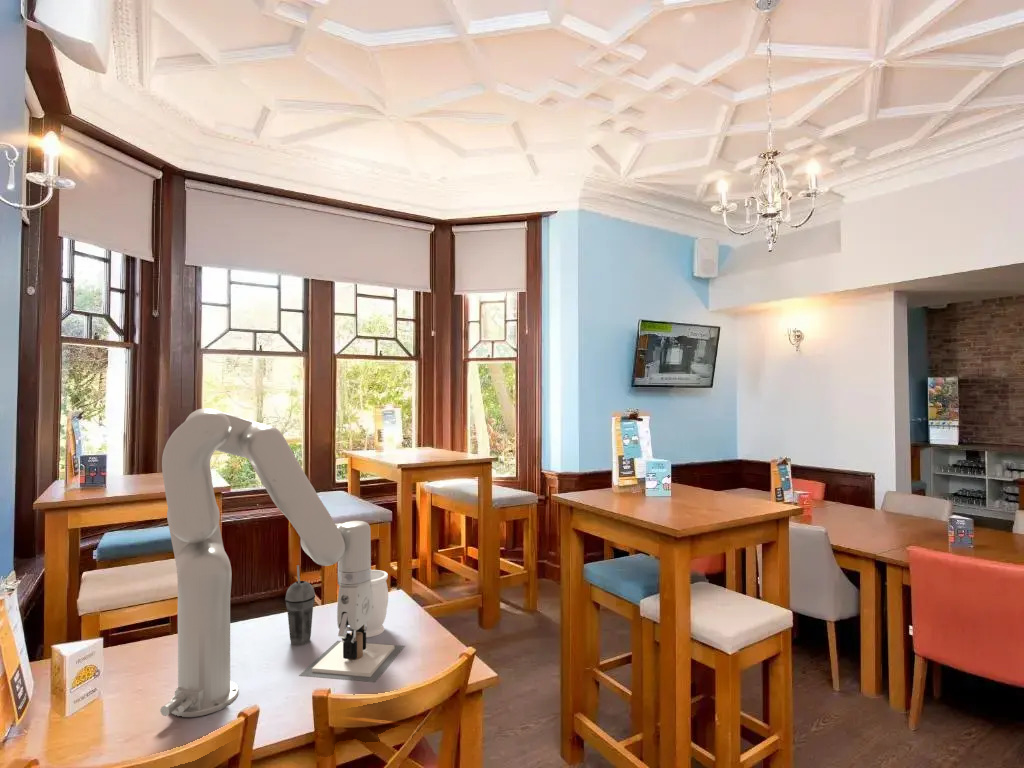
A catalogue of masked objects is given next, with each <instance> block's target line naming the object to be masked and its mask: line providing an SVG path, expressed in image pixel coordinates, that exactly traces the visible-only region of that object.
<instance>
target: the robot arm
mask: <svg viewBox="0 0 1024 768" xmlns="http://www.w3.org/2000/svg"><path fill="white" fill-rule="evenodd" d="M216 451H218V452H221V453H223V454H224V453H225V454H229V455H232V456H236V457H241V458H245V459H247V460H248V461H249V463H250V464H251V467H252V469H253V470H254V472H255V473H256V475H257V477H258V479H259V480H260V482H261V484H262V485H263V487H264V488H265V490H266V492H267V493H268V495H269V497H270V499H271V500H272V502H273V503H274V505H275V506H276V508H278V510H279V511H280V512H281V513H282V514H283V516H285V518H286V519H287V520H288V521H289V522H290V524H291V525H292V527H293V528H294V530H295V531H296V533H297V534H298V536H299V537H300V546H301V547H300V548H301V549H302V550H303V551H304V553H305V554H306V555H307V556H308V557H310V559H312V561H313V562H314V563H315V564H316V565H319V566H322V567H327V566H332V565H335V564H337V585H338V594H337V609H336V613H337V614H336V618H337V619H336V621H337V628H338V629H339V630H338V632H337V633H338V635H337V636H338V637H339V638H341V641H342V642H343V658H344V659H356V658H357V641H355V638H356V632H361V633H363V650H365V649H366V643H367V637H366V630H367V624H366V623H367V621H368V620H369V619H370V618H371V617H372V616H373V593H372V584H371V570H372V567H371V566H372V564H371V563H372V560H371V559H372V558H371V557H372V556H371V555H372V552H371V551H372V546H371V545H372V543H371V542H372V541H371V539H372V538H371V533H372V532H371V526H370V524H369V523H368V522H366V521H362V520H352V521H351V520H350V521H345V522H343V523H335V520H334V519H333V517H332V516H331V514H330V513H329V511H328V509H327V507H326V506H325V505H324V503H323V501H322V500H321V498H320V497H319V495H318V493H317V492H316V491H317V490H315V488H314V486H313V485H312V484H311V482H310V480H309V478H308V476H307V475H306V473H305V472H304V470H303V468H302V467H301V464H300V463H299V461H298V459H297V458H296V456H295V454H294V452H293V450H292V449H291V447H290V445H289V443H288V441H287V439H286V438H285V437H284V435H283V434H282V432H281V431H280V430H279V429H278V428H277V427H274V426H273V425H270V424H265V423H260V422H258V421H257V422H256V421H253V420H249V419H245V418H242V417H238V416H236V415H232V414H229V413H226V412H224V411H220V410H218V409H214V408H209V407H207V408H205V407H204V408H199V409H196V410H194V411H193V412H192V411H191V413H190V414H189V415H188V416H187V417H186V419H185V421H184V422H182V423H181V424H180V425H179V426H178V427H177V428H176V429H175V430H174V431H173V432H172V434H171V435H170V436H169V438H168V439H167V441H166V443H165V447H164V448H163V451H162V457H161V469H162V471H161V472H162V479H163V485H164V494H165V499H166V500H165V501H166V504H167V512H166V518H167V519H166V520H167V523H168V524H167V525H168V529H169V535H170V540H171V545H172V550H173V554H174V561H175V566H176V575H177V577H176V578H177V579H176V580H177V688H176V689H174V695H173V696H172V698H171V699H170V700H169V702H167V703H166V704H164V705H163V706H161V708H160V714H161V715H162V716H164V717H168V716H169V715H170V714H171V715H173V716H176V715H177V716H176V717H179V716H182V717H181V718H195V717H203V716H207V715H210V714H213V713H215V712H218V711H221V710H222V709H224V708H226V707H228V706H230V705H231V703H233V701H234V700H236V698H237V697H238V696H239V690H240V689H239V686H238V684H237V683H235V682H234V681H231V589H232V566H231V560H230V558H229V556H228V554H227V552H226V551H225V547H224V541H223V538H222V537H223V536H222V533H221V526H220V519H221V518H220V516H221V515H220V514H221V513H220V508H219V506H218V503H217V501H216V496H215V490H214V486H213V485H214V484H213V477H212V471H211V460H212V456H213V454H214V453H215V452H216ZM351 631H352V635H351V634H350V633H351Z"/></svg>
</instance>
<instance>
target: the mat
mask: <svg viewBox="0 0 1024 768" xmlns="http://www.w3.org/2000/svg"><path fill="white" fill-rule="evenodd" d="M341 641H342V640H337V641H335V642H334V643H333V644H332V645H331V646H329V648H328V649H327V650H325V652H323V653H322V654H321V655H320V656H319V657H318V658H316V660H314V661H313V662H312V663H311V664H310V665H309V666H308V667H306V668H305V669H304V670H303V672H301V673H300V674H299V675H298V677H311V678H321V679H322V678H323V679H330V680H331V679H332V680H343V681H355V682H367V683H377V681H378V680H379V678H380V677H381V676H382V675H383V674H384V673H385V671H386V670H387V669H388V667H389V666H390V665H391V664H392V662H393V661H394V660H395V659H396V658H397V656H398V655H399V654H400V653H401V651H403V650H404V649H405V647H406V645H403V644H402V645H400V644H393V645H394V647H395V649H394V650H393V651H392V652H391V653H390V655H389V656H388V657H387V658H386V659H385V660H384V662H383V663H382V664H381V665H380V666H379V667H378V669H377V670H376V671H375V672H374V673H373V674H372V676H371V677H366V676H354V675H343V674H331V673H319V672H312V668H313V667H314V666H315V665H316V664H317V663H318V662H319V661H320V660H321V659H323V658H324V657H325V656H326V655H327V654H328V653H329V652H330V651H331V650H332V649H333V648H335V647H336V646H337V645H338V644H339V643H340V642H341ZM368 643H369V644H377V643H376V642H375V643H374V642H368ZM382 644H383V645H391V644H387V643H382Z"/></svg>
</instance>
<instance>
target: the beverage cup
mask: <svg viewBox="0 0 1024 768" xmlns="http://www.w3.org/2000/svg"><path fill="white" fill-rule="evenodd" d="M296 572H297V573H296V574H297V581H295V582H294V583H292V584H291V585H290V586H289V587H288V588H287V590H286V594H285V597H284V602H285V606H286V610H287V617H288V622H287V623H288V629H289V640H290V645H292V646H295V647H297V646H304V645H307V644H309V643H310V642H311V635H312V626H313V625H312V624H313V613H314V605H315V599H316V592H315V589H314V587H313V585H312V584H311V583H310V582H308V581H305V580H301V579H300V578H301V577H300V565H296Z"/></svg>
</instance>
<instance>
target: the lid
mask: <svg viewBox="0 0 1024 768" xmlns="http://www.w3.org/2000/svg"><path fill="white" fill-rule="evenodd" d="M349 633H350V634H351V635H352V633H351V632H349ZM340 641H341V642H340V643H339V644H338V645H337V646H336V647H335V648H333V649H332V650H331V651H330V652H329V653H328V654H327V655H326V656H325V657H324V658H323V659H321V660H320V661H319V662H318V663H317V664H316V665H315V666H314V667H313V668H312V672H319V673H331V674H343V675H354V676H366V677H371V676H372V674H373V673H374V672H375V671H376V670H377V669H378V667H379V666H380V665H381V664H382V663H383V662H384V660H385V659H386V658H387V657H388V656H389V655H390V653H391V652H392V651H393V650H394V649H395V647H394V645H395V644H390V645H383V644H384V643H376V644H369V643H370V642H366V649H365V650H363V633H361V632H356V638H355V641H357V658H356V659H344V658H343V642H342V640H340Z"/></svg>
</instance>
